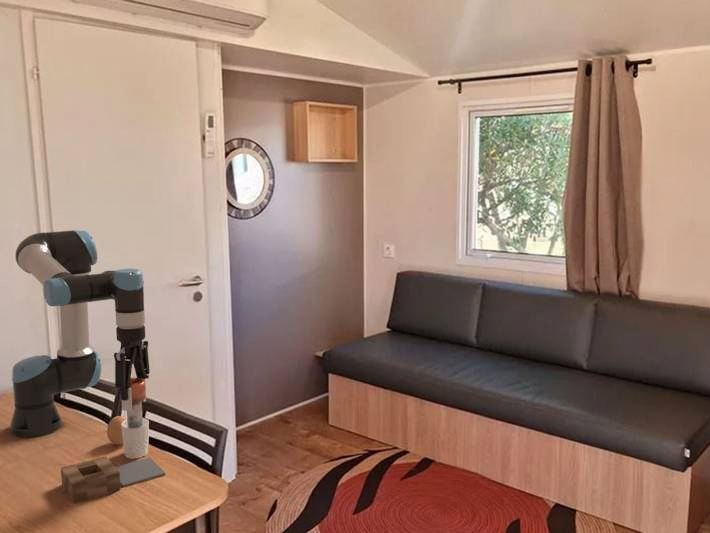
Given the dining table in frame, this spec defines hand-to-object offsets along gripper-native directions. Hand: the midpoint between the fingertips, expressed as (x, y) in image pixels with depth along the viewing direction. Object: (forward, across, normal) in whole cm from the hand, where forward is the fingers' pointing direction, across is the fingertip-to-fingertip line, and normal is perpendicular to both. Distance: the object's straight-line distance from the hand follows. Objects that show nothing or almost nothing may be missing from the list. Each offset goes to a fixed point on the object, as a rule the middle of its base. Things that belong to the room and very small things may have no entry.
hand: (134, 405), depth 185 cm
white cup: (+20, -11, -7) cm, 24 cm away
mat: (+20, 0, 0) cm, 20 cm away
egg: (+20, -16, -16) cm, 30 cm away
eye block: (+20, +10, -8) cm, 24 cm away
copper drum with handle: (+6, 0, 0) cm, 6 cm away
